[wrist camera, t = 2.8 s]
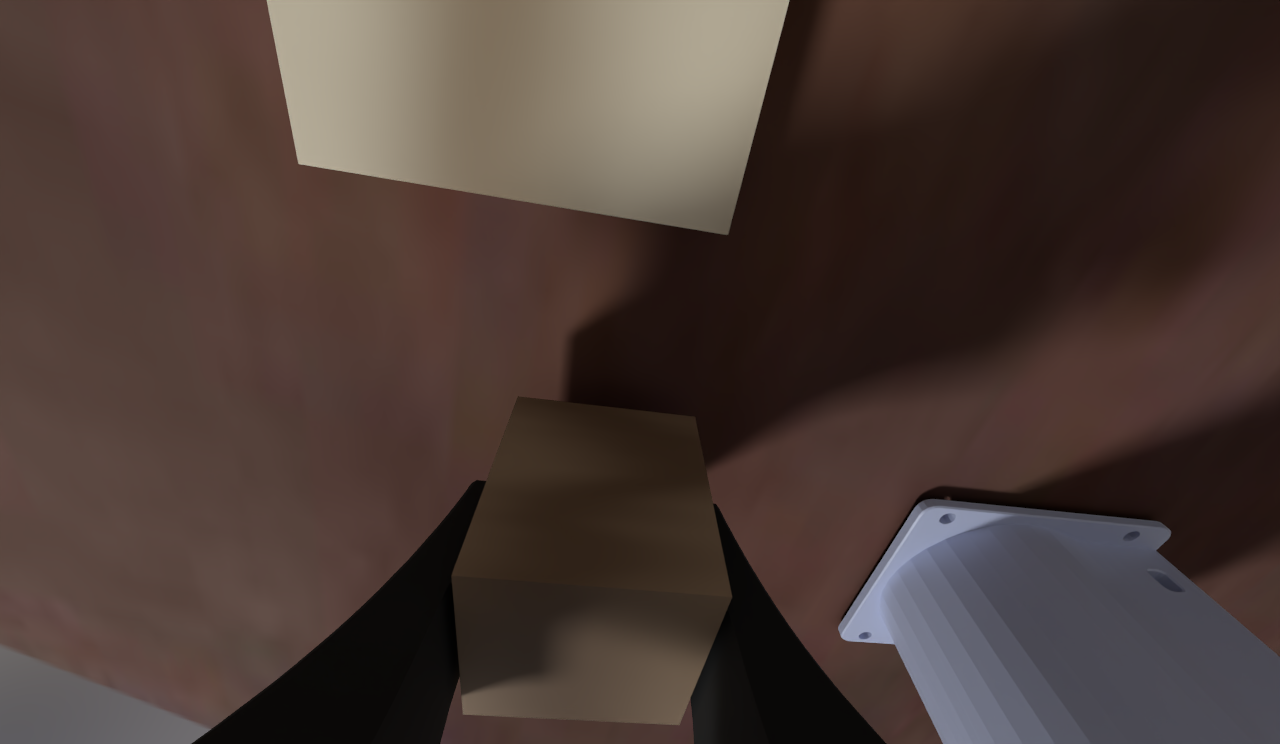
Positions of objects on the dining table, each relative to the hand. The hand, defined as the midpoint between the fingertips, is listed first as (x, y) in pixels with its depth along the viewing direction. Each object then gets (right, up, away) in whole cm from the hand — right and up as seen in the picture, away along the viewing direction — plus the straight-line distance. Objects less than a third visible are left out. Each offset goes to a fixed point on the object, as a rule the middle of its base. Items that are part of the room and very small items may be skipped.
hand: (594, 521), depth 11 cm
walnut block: (0, +1, +1) cm, 2 cm away
